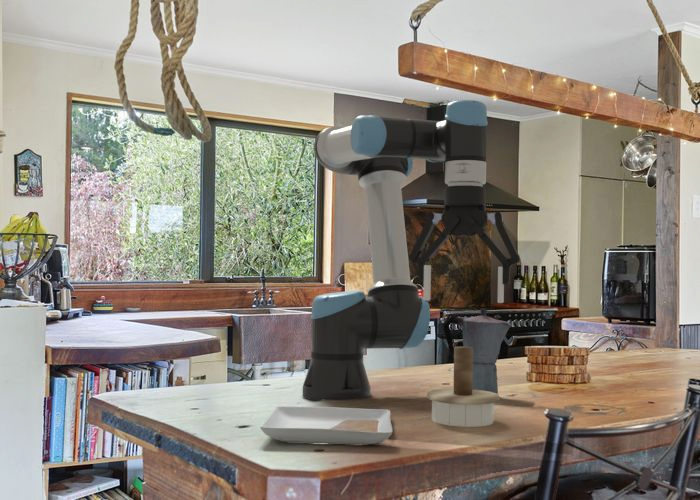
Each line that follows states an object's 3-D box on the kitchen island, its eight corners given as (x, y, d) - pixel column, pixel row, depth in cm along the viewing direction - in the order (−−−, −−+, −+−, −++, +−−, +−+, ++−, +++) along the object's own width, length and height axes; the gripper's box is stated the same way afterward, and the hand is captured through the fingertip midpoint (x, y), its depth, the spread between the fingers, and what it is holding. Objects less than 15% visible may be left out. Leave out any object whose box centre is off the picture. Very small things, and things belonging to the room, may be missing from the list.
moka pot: (511, 401, 171) (512, 310, 171) (440, 398, 174) (441, 308, 174) (511, 395, 180) (511, 308, 181) (443, 392, 183) (444, 306, 184)
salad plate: (390, 425, 144) (390, 407, 144) (392, 452, 123) (393, 430, 123) (275, 423, 145) (275, 404, 145) (258, 448, 124) (258, 427, 124)
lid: (420, 401, 139) (420, 349, 139) (435, 391, 151) (435, 342, 151) (493, 406, 135) (494, 352, 135) (503, 395, 147) (503, 345, 147)
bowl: (426, 429, 139) (426, 401, 139) (439, 418, 150) (439, 392, 150) (488, 434, 136) (488, 405, 136) (497, 422, 146) (497, 395, 146)
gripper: (394, 184, 144) (392, 299, 144) (532, 183, 137) (530, 304, 136) (404, 188, 151) (402, 298, 151) (536, 187, 144) (534, 302, 143)
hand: (463, 301), depth 144 cm, fingers open, 13 cm apart
